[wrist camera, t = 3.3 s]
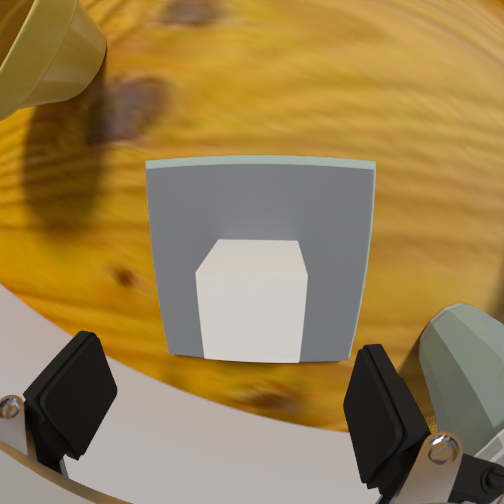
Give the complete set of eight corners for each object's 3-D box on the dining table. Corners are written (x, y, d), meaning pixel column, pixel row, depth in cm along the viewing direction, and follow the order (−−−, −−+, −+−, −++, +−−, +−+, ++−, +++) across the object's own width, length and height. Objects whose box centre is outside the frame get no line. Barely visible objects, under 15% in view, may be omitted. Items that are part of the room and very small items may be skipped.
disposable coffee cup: (463, 371, 20) (523, 476, 6) (376, 386, 20) (419, 533, 6) (500, 277, 16) (606, 369, 2) (410, 276, 17) (541, 438, 3)
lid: (153, 168, 16) (97, 174, 10) (368, 169, 15) (415, 174, 9) (173, 345, 20) (145, 400, 14) (344, 351, 19) (362, 411, 13)
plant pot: (129, 102, 15) (20, 72, 6) (32, 140, 16) (-60, 150, 7) (134, -9, 12) (67, -68, 2) (40, 40, 13) (-34, 21, 3)
